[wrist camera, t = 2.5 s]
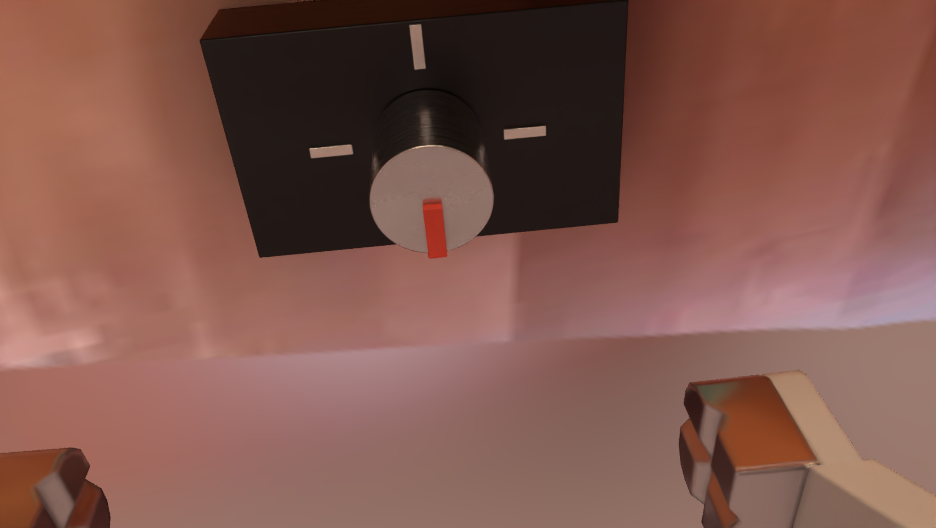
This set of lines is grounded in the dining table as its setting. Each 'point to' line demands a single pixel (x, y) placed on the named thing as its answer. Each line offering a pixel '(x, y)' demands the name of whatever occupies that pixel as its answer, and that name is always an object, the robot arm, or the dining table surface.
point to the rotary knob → (430, 173)
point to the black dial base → (407, 70)
